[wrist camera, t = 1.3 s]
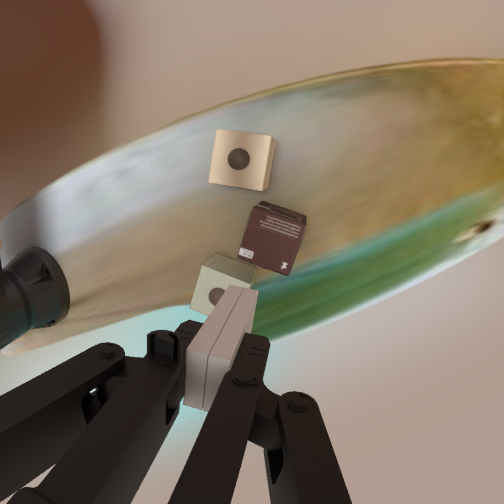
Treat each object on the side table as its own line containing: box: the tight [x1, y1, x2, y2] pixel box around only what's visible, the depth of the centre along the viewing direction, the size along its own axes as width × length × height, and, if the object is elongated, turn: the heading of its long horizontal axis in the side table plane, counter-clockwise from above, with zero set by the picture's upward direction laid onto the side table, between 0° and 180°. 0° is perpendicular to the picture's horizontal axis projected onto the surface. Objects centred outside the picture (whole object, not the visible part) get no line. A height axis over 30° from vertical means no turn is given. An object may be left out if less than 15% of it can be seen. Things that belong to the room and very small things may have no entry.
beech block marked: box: [208, 129, 276, 191], centre depth 35 cm, size 6×6×6 cm
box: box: [237, 201, 306, 276], centre depth 36 cm, size 6×6×7 cm
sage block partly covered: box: [190, 253, 258, 316], centre depth 40 cm, size 6×6×6 cm
